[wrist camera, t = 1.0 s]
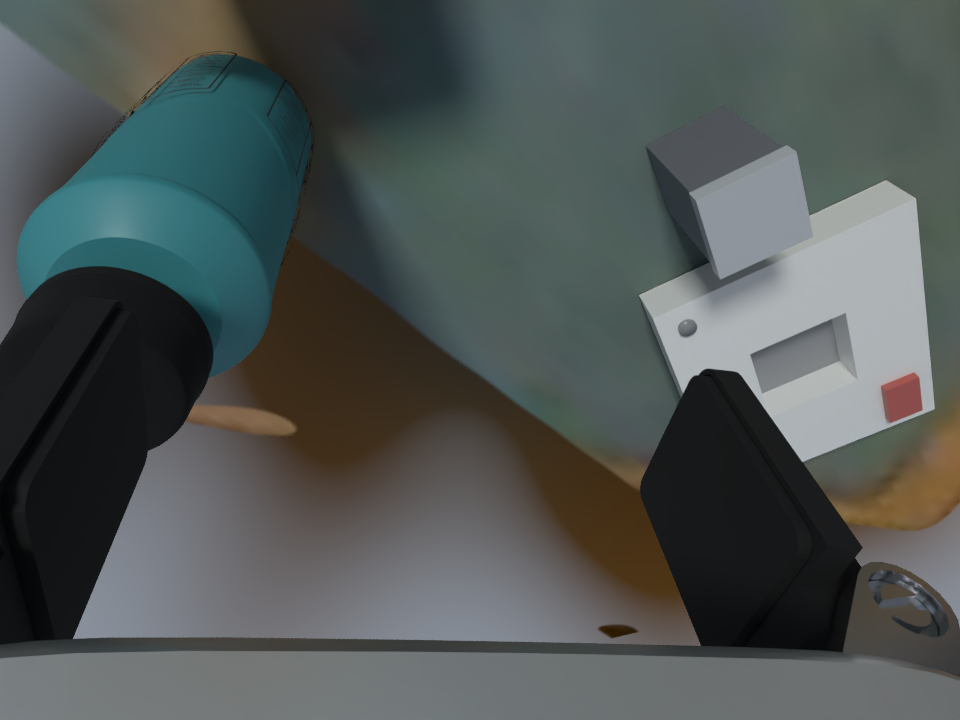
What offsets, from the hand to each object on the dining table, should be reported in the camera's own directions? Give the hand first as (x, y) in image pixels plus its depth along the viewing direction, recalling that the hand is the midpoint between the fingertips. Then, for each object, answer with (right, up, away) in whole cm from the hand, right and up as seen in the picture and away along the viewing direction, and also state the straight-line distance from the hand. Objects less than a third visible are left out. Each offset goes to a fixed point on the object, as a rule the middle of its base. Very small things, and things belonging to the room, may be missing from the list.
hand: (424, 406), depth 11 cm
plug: (+12, +11, +22) cm, 27 cm away
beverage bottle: (-10, +12, +19) cm, 24 cm away
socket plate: (+20, +2, +30) cm, 36 cm away
